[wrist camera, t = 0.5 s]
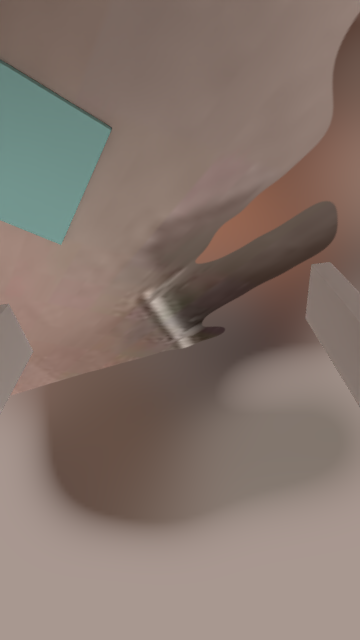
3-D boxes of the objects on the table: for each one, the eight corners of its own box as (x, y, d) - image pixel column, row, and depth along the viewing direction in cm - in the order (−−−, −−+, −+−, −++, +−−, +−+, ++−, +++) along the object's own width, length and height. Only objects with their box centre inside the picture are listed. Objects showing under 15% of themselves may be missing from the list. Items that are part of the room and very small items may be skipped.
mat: (-82, 9, 25) (-86, 10, 25) (111, 127, 32) (111, 130, 32) (-87, 181, 35) (-89, 183, 35) (61, 241, 42) (61, 244, 42)
